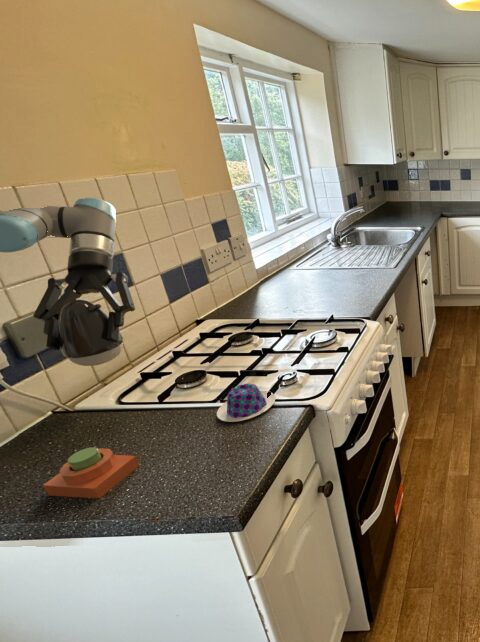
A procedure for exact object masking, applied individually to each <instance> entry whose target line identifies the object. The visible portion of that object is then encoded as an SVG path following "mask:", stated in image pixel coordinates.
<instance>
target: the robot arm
mask: <svg viewBox="0 0 480 642" xmlns="http://www.w3.org/2000/svg"><path fill="white" fill-rule="evenodd" d="M46 206H47V207H44V208H40V209H39V208H18V209H13V210H9V211H1V210H0V253H5V254H6V253H7V254H8V253H16V252H20V251H23V250H25V249H29V248H31V247H32V246H34V245H35V244H36V243H38V242H39V241H42V240H44V239H47V238H48V237H47V236H50V235H52V236H55V237H54V238H58V237H59V238H63V239H64V238H65V239H70V241H69V248H68V257H67V259H68V260H67V268H66V269H67V274H66V276H65V277H64V278H58V279H56V278H55V277H49V278H48V280H47V287H46V290H45V292H44V294H43V295H42V298H41V300H40V301H39V303H38V304H37V305H38V306H36V309H35V311H34V313H33V318H34V319H37V320H38V321H41V322H43V323H44V325H43V334H44V335H47V337H46V345H45V346H46V348H49V349H51V350H53V351H61V347H60V343H59V338H58V316H59V313H60V310H61V308H62V307H63V306H64V305H65V304H66V303H68V302H70V301H73V300H78V299H80V298H81V297H82V296H83V295H88V294H99V293H100V294H101V296H102V297H103V298H104V300H105V301H106V302H107V303H108V305H109V306H110V308H111V310H113V311H108V317H109V319H108V332H107V339H109V340H111V341H113V342H118V337H119V331H120V328H121V327H124V325H125V314H127V313H129V312H134V311H135V310H136V306H135V303H134V300H133V297H132V295H131V292H130V291H131V290H130V288H129V285H128V282H129V277H128V275H126V274H125V273H124V272H123V271H118V272H117V273H113V269H114V266H113V265H114V260H113V259H114V253H115V252H114V251H115V237H116V228H117V214H116V213H117V212H116V208H115V207H114V205H113V204H111V203H110V202H108V201H106V200H104V199H100V198H96V197H85V198H78V199H77V200H76V201H75V202H74V204H73V206H59V205H58V206H56V205H46ZM47 231H48V232H47ZM67 236H68V237H67ZM112 281H113V282H115V285H116V288H117V290H118V294H119V297H120V300H121V303H120V302H119V301H118V299H117V298H116V297H115V295H114V294H113V293H112V291H111V290H110V288H109V287H108V286H109V285H110V284H111V282H112ZM66 285H67V286H66ZM65 286H66V287H65ZM62 292H63V293H62ZM61 294H62V295H61ZM121 304H122V305H121Z"/></svg>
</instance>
